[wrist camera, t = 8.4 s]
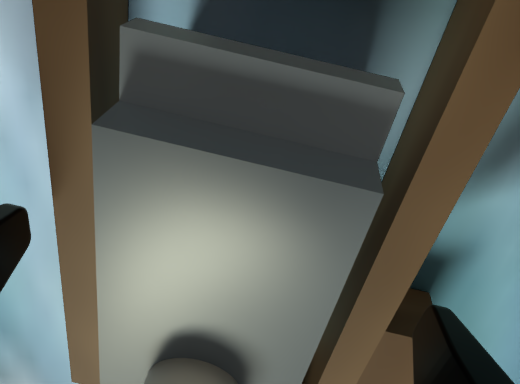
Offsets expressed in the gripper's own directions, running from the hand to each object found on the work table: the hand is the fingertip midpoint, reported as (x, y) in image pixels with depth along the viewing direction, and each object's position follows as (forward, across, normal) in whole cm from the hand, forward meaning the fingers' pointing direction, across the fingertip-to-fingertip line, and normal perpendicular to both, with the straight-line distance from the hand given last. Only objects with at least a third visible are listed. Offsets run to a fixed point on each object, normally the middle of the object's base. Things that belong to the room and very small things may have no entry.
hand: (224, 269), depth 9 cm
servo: (+3, 0, 0) cm, 3 cm away
